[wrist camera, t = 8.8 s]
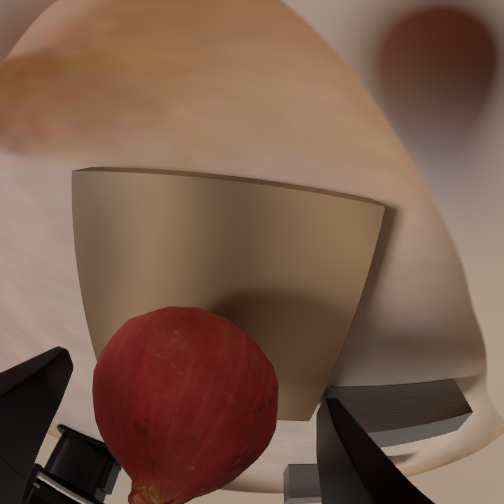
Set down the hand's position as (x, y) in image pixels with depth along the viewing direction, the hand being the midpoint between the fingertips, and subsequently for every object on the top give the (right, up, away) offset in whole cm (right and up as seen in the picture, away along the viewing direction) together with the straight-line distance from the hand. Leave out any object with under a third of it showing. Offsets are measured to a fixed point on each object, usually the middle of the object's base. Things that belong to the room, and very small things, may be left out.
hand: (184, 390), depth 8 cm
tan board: (0, +2, +5) cm, 5 cm away
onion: (0, +1, +3) cm, 4 cm away
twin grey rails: (+11, -10, +9) cm, 17 cm away
